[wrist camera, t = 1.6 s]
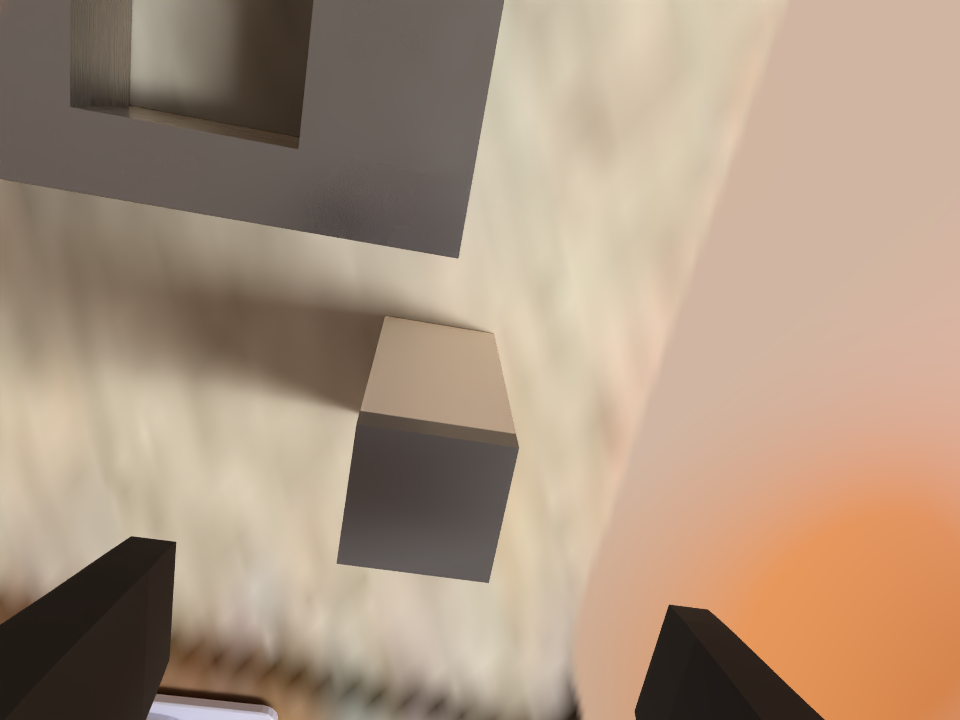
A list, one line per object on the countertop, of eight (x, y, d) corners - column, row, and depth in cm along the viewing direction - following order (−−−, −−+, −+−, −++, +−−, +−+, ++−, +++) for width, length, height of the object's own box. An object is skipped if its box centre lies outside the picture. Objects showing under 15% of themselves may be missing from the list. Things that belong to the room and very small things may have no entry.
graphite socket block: (456, 234, 19) (458, 263, 16) (-31, 148, 18) (-136, 160, 15) (516, -114, 17) (535, -166, 13) (-46, -243, 15) (-179, -337, 12)
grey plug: (474, 432, 21) (489, 582, 15) (370, 416, 21) (336, 563, 14) (494, 333, 20) (518, 447, 14) (384, 315, 20) (356, 423, 13)
